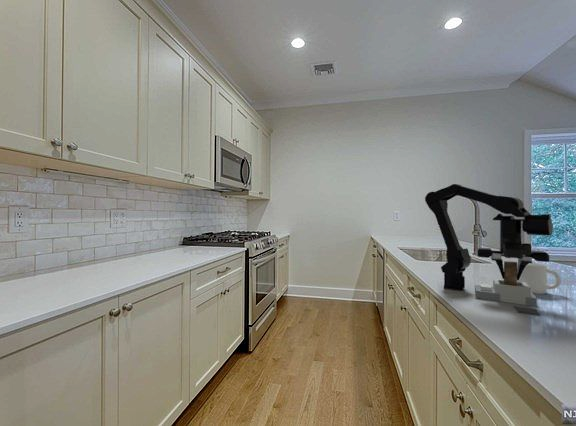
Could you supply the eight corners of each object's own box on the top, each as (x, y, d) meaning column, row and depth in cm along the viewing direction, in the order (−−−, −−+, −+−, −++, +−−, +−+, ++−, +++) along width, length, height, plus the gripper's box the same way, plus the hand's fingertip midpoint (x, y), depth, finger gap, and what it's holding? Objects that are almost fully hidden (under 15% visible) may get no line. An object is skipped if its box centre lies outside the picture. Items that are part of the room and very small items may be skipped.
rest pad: (517, 312, 82) (517, 310, 82) (515, 307, 87) (515, 306, 87) (540, 315, 80) (540, 314, 80) (536, 310, 84) (536, 309, 84)
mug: (560, 292, 102) (560, 264, 102) (561, 297, 96) (561, 268, 96) (518, 286, 110) (518, 261, 110) (517, 291, 104) (517, 264, 104)
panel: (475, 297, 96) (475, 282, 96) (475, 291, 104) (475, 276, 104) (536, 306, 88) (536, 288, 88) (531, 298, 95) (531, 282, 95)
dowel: (504, 291, 94) (504, 262, 94) (503, 289, 97) (503, 260, 97) (517, 293, 92) (517, 263, 92) (516, 290, 95) (516, 261, 95)
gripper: (478, 234, 93) (478, 280, 93) (554, 237, 83) (554, 289, 83) (477, 232, 102) (477, 274, 102) (544, 234, 92) (544, 281, 92)
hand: (510, 279), depth 95 cm, fingers closed on dowel, 3 cm apart
